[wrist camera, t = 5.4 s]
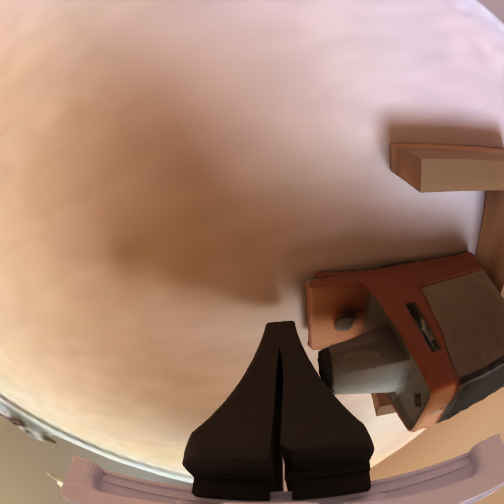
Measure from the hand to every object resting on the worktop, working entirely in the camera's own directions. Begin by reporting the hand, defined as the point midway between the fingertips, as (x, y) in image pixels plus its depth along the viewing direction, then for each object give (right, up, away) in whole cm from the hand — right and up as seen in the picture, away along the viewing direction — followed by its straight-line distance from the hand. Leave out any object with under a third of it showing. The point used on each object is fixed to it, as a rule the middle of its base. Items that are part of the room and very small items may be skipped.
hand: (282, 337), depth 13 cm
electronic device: (+6, +2, +2) cm, 6 cm away
